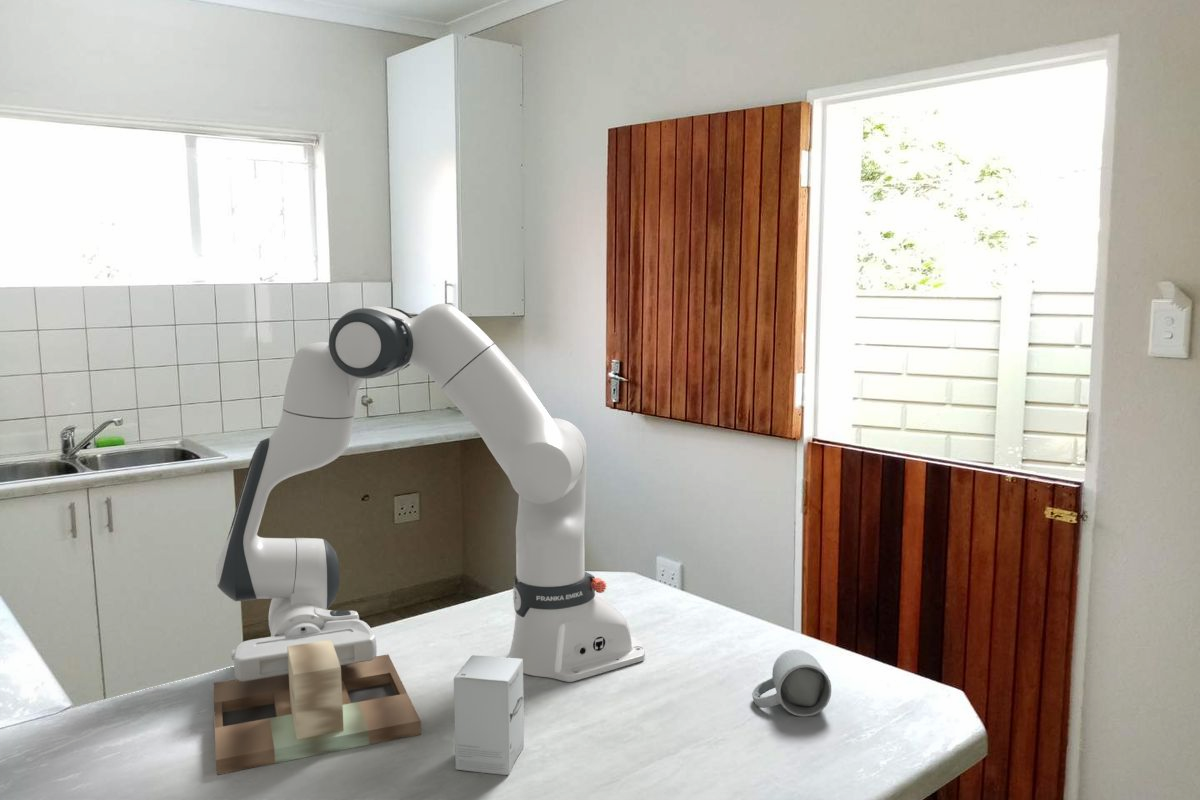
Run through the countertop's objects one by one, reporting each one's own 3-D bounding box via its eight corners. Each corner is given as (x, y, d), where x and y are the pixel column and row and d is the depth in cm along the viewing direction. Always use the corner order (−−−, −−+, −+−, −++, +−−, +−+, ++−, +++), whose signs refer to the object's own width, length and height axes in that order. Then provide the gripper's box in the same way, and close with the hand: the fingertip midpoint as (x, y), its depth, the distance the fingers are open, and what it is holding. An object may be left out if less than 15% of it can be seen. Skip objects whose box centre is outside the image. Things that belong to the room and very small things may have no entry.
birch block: (334, 699, 133) (331, 639, 132) (343, 730, 124) (340, 667, 123) (290, 706, 131) (287, 646, 130) (296, 739, 122) (293, 674, 120)
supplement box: (509, 776, 116) (508, 681, 115) (453, 770, 118) (451, 676, 116) (526, 747, 123) (524, 657, 122) (473, 741, 125) (471, 653, 123)
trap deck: (388, 666, 149) (388, 654, 149) (421, 734, 127) (420, 720, 127) (214, 695, 139) (213, 682, 138) (216, 774, 117) (215, 760, 117)
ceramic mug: (818, 691, 140) (818, 642, 139) (831, 717, 132) (832, 665, 131) (748, 692, 140) (748, 644, 139) (757, 718, 132) (757, 667, 131)
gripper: (229, 628, 140) (231, 664, 127) (366, 609, 147) (382, 640, 135) (231, 668, 140) (234, 707, 128) (368, 646, 148) (383, 681, 136)
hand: (311, 673), depth 131 cm, fingers closed, pressing on birch block
